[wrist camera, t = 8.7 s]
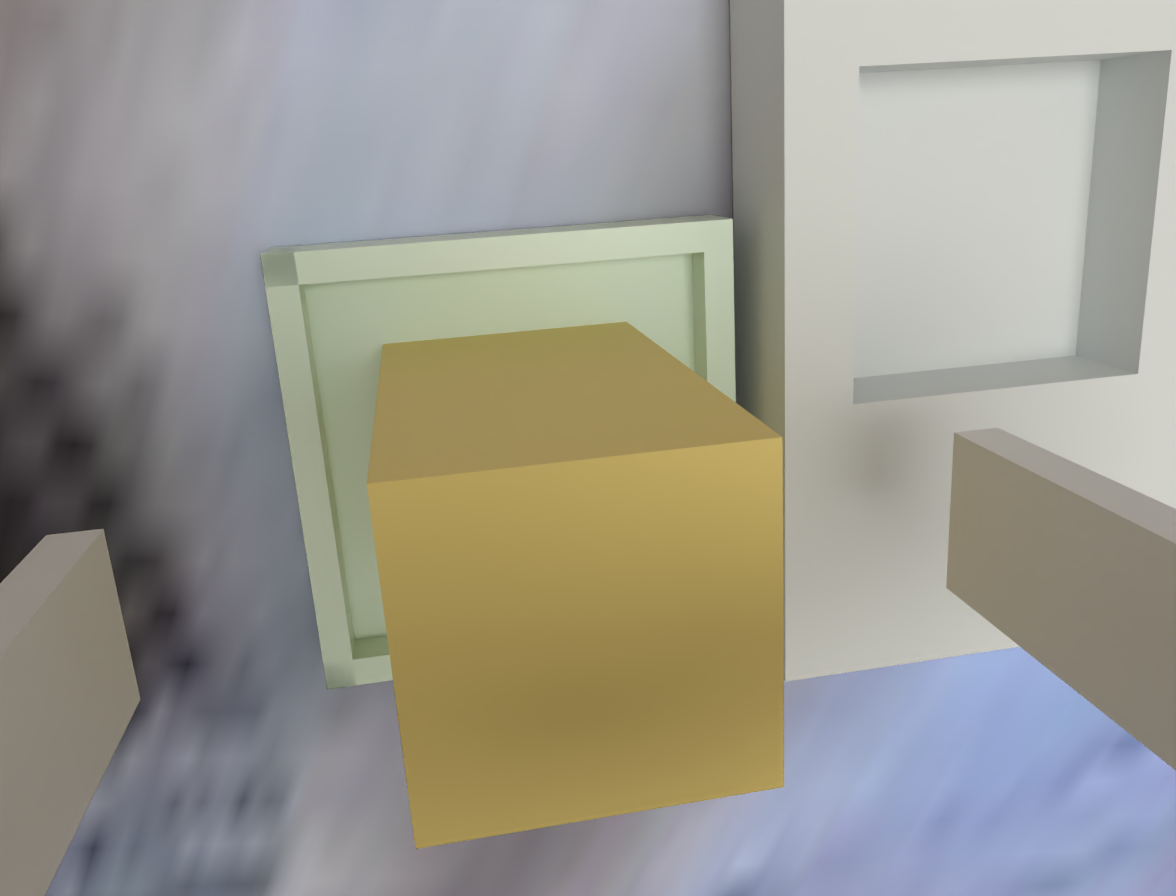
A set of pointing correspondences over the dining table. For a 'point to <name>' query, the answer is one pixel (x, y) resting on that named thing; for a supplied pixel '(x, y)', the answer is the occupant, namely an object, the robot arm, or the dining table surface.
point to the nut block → (574, 580)
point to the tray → (446, 310)
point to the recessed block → (944, 281)
